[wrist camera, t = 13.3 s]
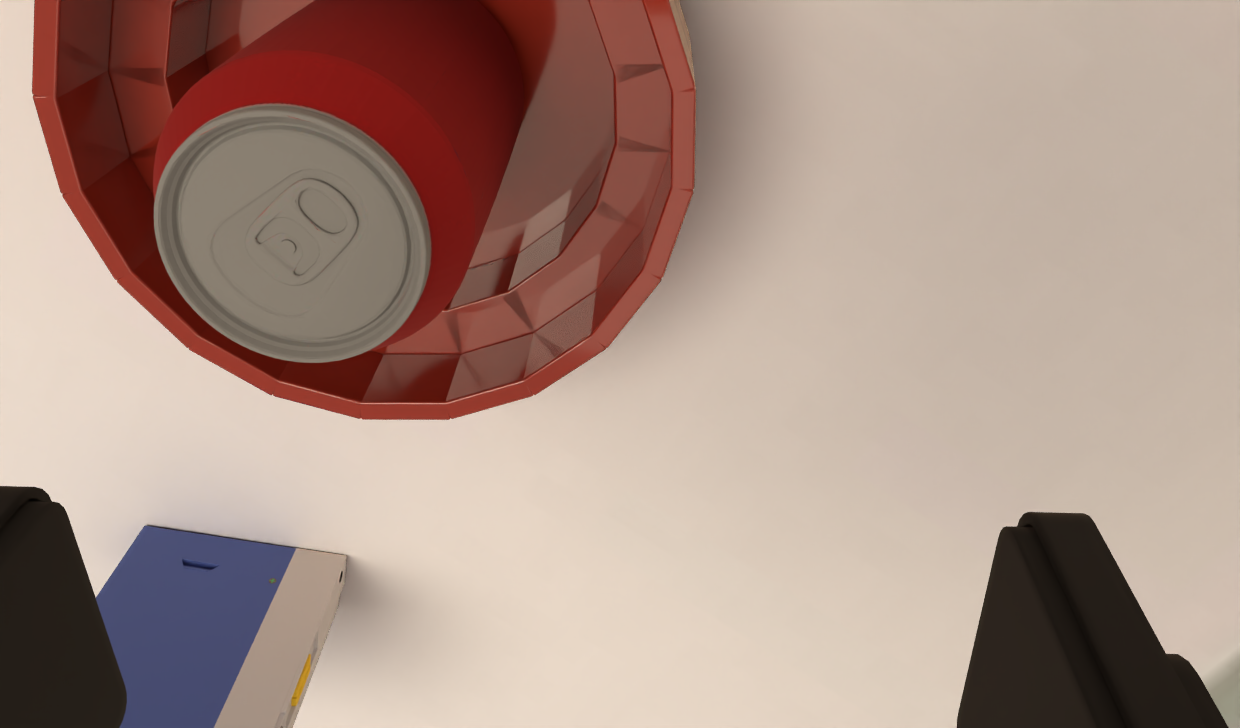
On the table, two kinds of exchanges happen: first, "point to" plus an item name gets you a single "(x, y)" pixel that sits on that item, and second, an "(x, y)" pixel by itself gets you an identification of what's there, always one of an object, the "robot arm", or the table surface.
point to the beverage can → (338, 174)
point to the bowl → (513, 235)
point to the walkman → (218, 628)
